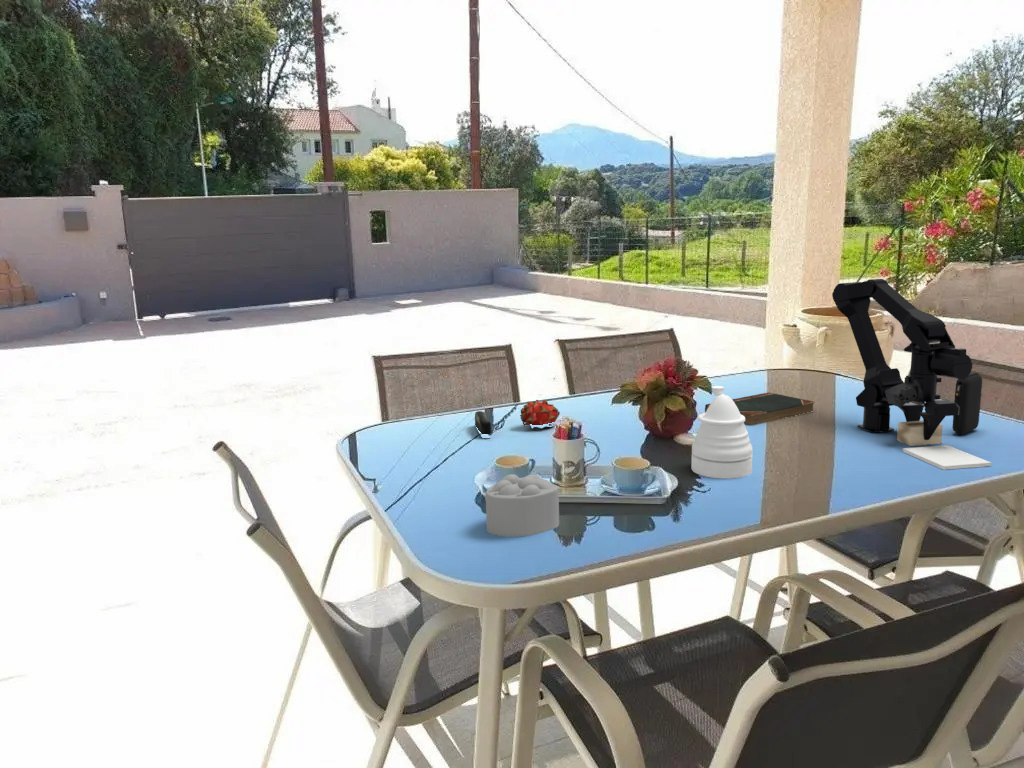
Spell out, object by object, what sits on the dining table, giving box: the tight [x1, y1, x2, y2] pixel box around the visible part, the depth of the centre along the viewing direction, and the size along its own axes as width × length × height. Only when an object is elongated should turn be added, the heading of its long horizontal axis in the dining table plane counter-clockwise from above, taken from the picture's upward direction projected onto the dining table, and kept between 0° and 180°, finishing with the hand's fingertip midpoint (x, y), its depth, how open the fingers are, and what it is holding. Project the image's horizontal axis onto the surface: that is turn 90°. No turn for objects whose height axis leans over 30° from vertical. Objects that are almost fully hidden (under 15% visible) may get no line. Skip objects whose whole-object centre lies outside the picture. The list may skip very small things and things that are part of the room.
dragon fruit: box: [519, 399, 561, 426], centre depth 214 cm, size 8×8×12 cm
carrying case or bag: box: [952, 372, 983, 436], centre depth 195 cm, size 11×3×15 cm, turn 127°
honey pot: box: [690, 385, 754, 480], centre depth 173 cm, size 13×13×18 cm
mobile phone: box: [474, 410, 492, 434], centre depth 212 cm, size 5×3×15 cm
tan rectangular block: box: [896, 420, 944, 447], centre depth 190 cm, size 5×8×5 cm, turn 98°
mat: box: [902, 444, 992, 471], centre depth 177 cm, size 14×11×1 cm
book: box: [704, 392, 816, 426], centre depth 223 cm, size 17×4×25 cm
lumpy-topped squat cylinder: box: [485, 473, 560, 538], centre depth 145 cm, size 10×13×9 cm
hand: (919, 437), depth 190 cm, fingers closed on tan rectangular block, 5 cm apart
